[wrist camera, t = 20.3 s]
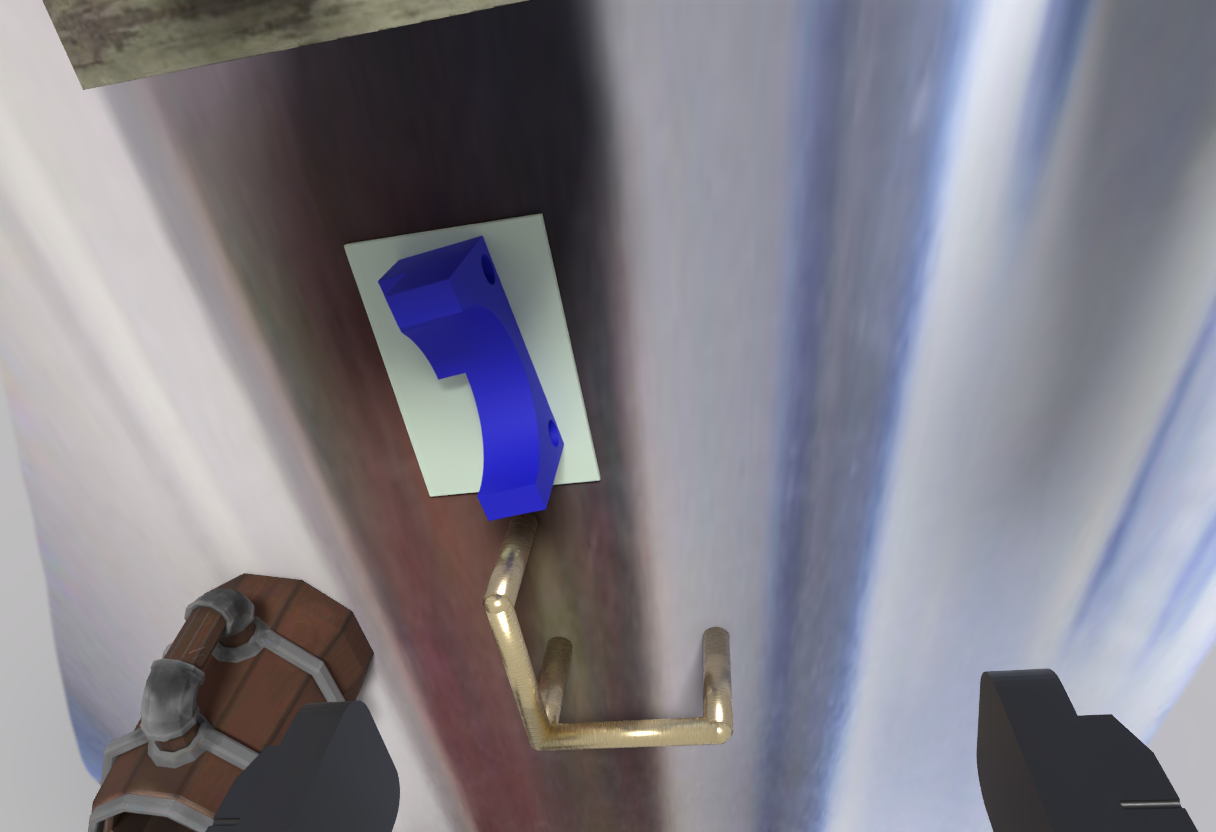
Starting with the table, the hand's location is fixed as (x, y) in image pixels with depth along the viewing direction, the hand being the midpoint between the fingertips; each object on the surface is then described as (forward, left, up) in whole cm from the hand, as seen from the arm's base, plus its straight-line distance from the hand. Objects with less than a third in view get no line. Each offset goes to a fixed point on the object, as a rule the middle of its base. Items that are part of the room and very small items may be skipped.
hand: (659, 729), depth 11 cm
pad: (+12, +8, -30) cm, 33 cm away
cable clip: (+12, +7, -30) cm, 33 cm away
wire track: (+7, +23, -30) cm, 39 cm away
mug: (+30, +24, -30) cm, 49 cm away
